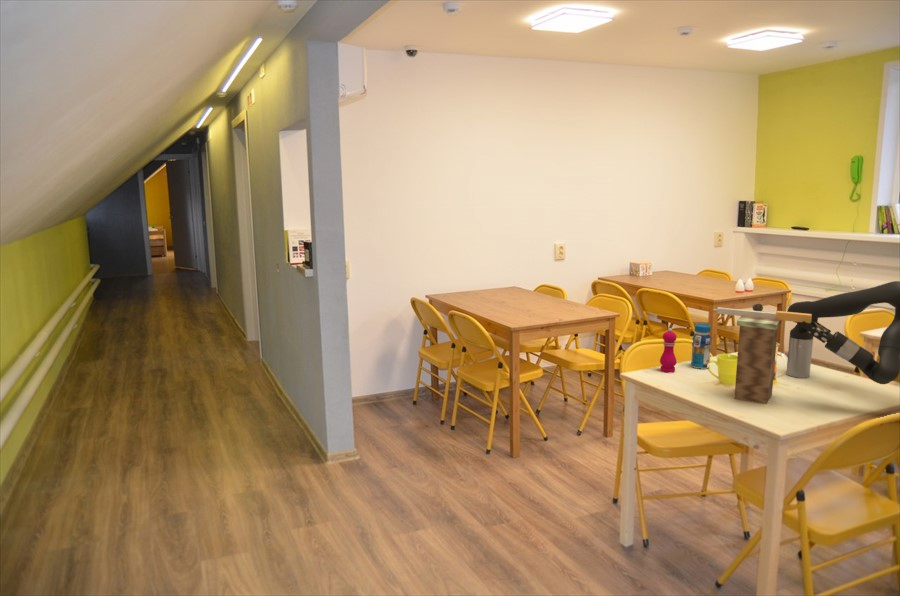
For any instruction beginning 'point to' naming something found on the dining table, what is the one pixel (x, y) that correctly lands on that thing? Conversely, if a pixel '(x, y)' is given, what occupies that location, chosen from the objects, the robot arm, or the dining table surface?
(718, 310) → the knife
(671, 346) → the pepper mill
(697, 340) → the blue snack canister
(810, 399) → the dining table surface
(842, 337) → the robot arm
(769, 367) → the brown zigzag canister
